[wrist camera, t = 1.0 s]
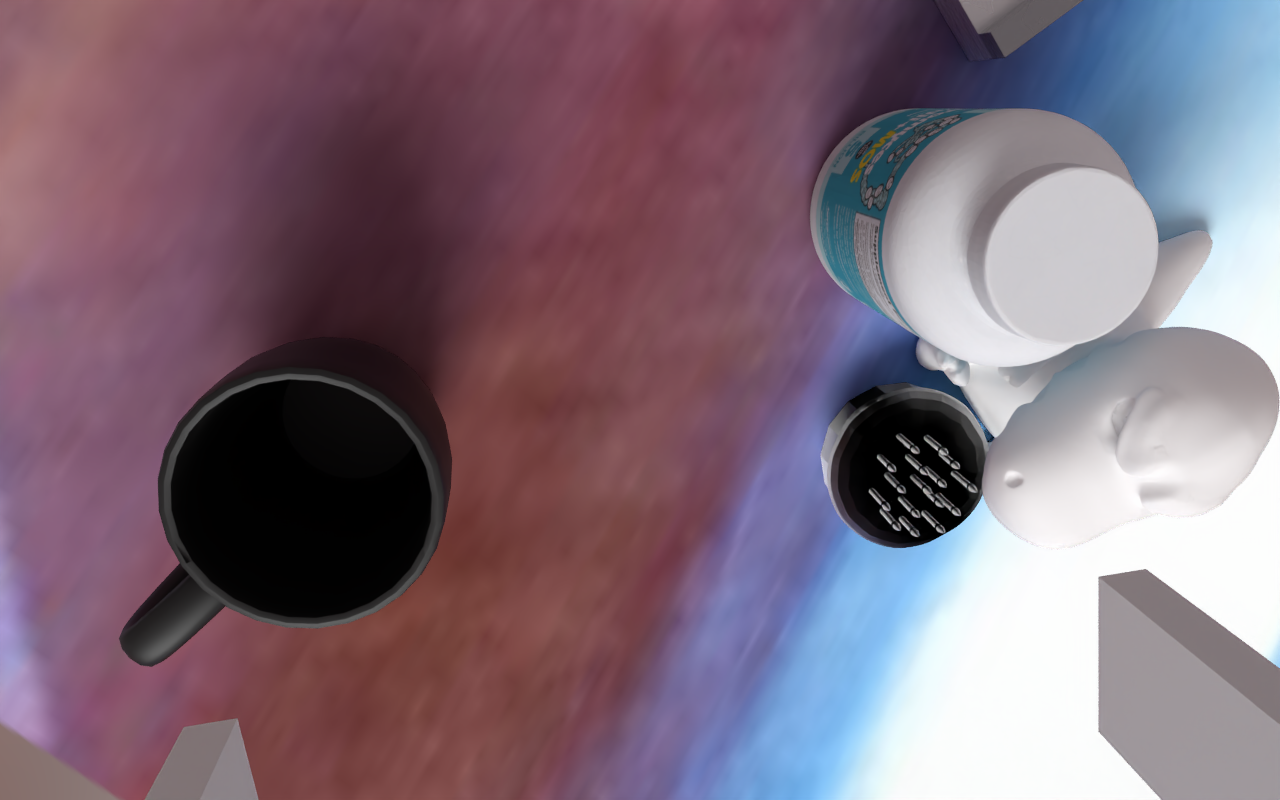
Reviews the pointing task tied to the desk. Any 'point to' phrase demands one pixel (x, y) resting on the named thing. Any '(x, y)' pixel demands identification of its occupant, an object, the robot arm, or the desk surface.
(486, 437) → the desk surface
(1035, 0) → the console
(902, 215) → the pill bottle
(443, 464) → the mug
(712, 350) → the desk surface
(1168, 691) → the robot arm
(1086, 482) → the figurine
